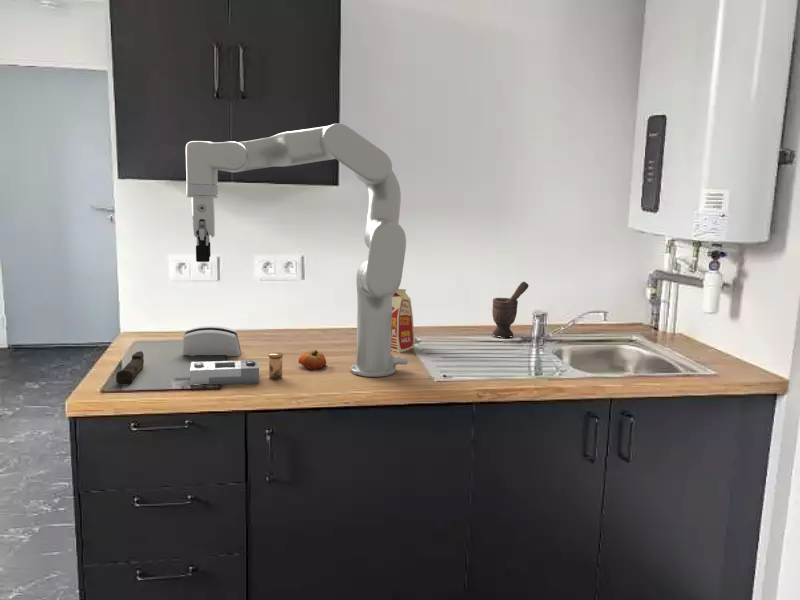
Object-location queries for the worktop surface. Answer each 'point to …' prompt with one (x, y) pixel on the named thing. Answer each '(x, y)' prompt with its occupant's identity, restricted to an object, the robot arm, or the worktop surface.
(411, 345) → the milk carton
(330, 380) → the worktop surface
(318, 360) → the tomato
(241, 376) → the grey latch plate
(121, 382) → the dark brown rounded rod
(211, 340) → the grey toaster
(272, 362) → the pin
